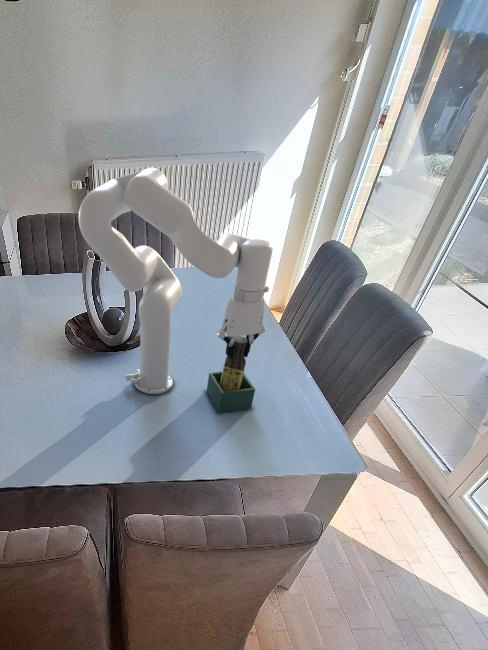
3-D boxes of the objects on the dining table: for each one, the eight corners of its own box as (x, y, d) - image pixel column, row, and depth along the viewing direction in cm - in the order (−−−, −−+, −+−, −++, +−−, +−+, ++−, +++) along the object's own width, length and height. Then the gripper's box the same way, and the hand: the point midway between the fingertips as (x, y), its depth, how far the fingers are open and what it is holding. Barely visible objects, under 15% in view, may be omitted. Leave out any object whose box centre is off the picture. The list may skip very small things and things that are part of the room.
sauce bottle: (214, 400, 144) (224, 341, 129) (221, 389, 148) (230, 331, 133) (235, 405, 142) (246, 346, 127) (241, 394, 145) (253, 336, 131)
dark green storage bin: (218, 412, 141) (221, 393, 136) (206, 391, 149) (209, 372, 144) (250, 408, 142) (255, 389, 137) (237, 387, 150) (241, 369, 145)
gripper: (272, 284, 124) (258, 346, 138) (213, 290, 123) (205, 352, 136) (284, 295, 119) (268, 359, 133) (223, 302, 117) (213, 365, 131)
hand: (236, 355), depth 134 cm, fingers closed on sauce bottle, 4 cm apart
